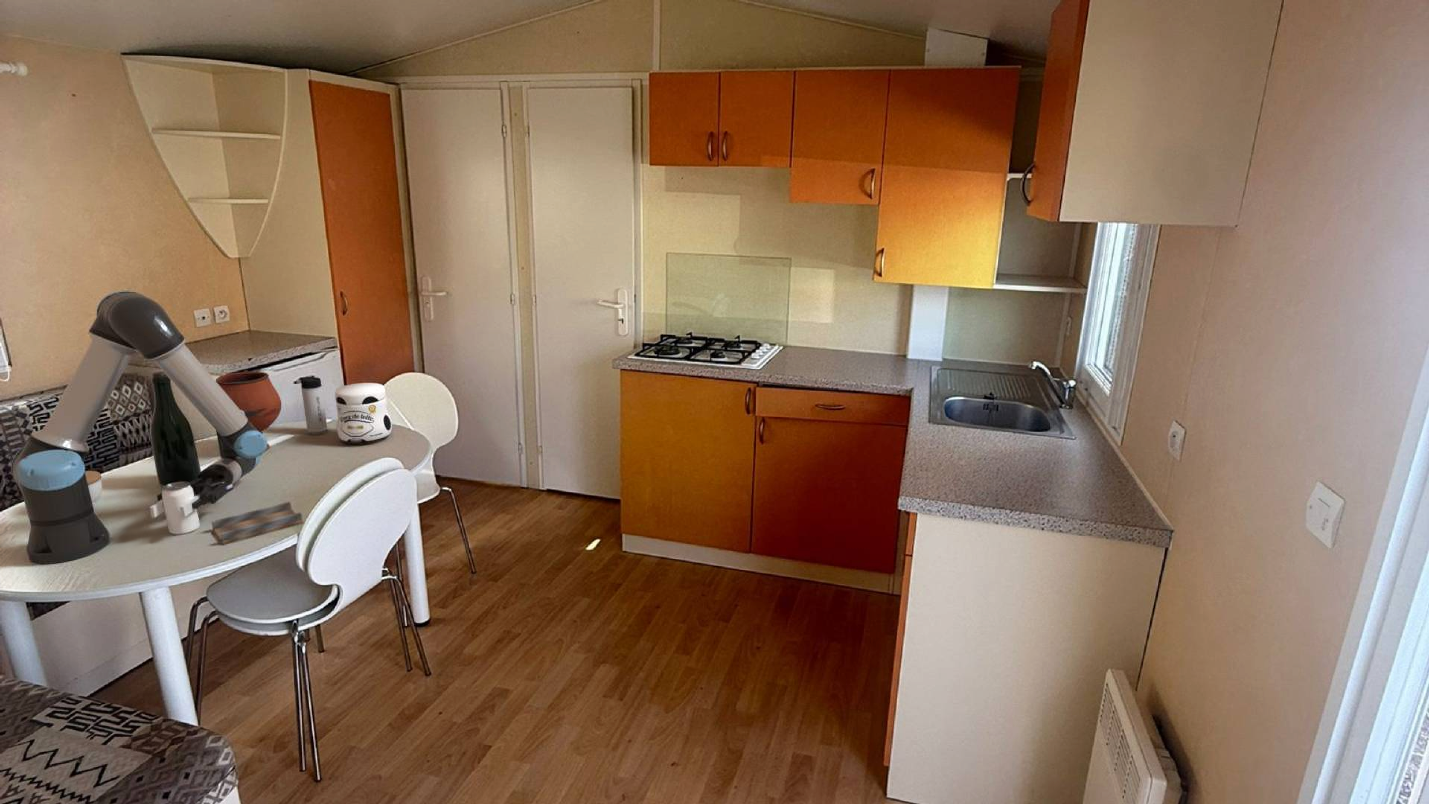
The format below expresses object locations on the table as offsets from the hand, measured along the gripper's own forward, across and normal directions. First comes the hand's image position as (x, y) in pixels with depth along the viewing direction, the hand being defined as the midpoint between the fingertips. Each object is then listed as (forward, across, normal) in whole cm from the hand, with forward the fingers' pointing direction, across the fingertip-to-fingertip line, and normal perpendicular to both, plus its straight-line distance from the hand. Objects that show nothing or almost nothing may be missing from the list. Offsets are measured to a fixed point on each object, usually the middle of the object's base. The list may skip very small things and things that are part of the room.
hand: (167, 512), depth 184 cm
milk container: (-74, -20, -8) cm, 77 cm away
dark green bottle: (-38, +20, -7) cm, 44 cm away
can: (-5, 0, -7) cm, 9 cm away
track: (-6, -17, -7) cm, 20 cm away
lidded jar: (-22, +36, -7) cm, 43 cm away
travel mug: (-82, -1, -7) cm, 82 cm away
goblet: (-64, +12, -7) cm, 66 cm away
